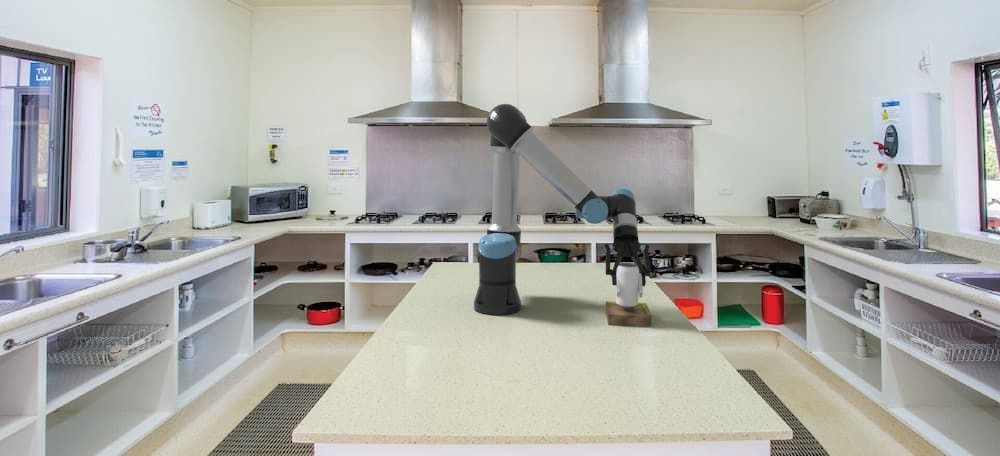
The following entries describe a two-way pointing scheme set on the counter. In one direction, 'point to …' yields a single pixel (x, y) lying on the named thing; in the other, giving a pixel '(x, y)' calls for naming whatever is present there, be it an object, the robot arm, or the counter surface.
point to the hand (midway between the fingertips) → (629, 294)
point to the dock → (628, 315)
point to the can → (628, 284)
